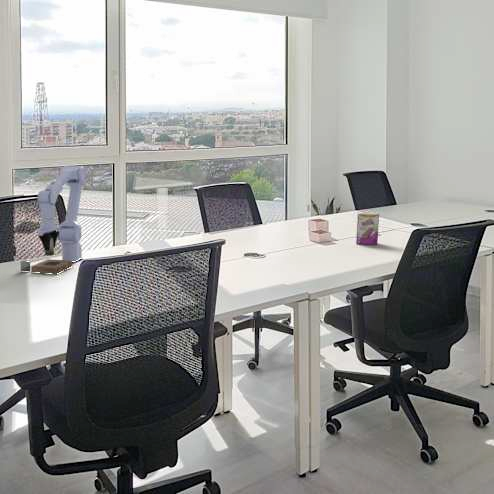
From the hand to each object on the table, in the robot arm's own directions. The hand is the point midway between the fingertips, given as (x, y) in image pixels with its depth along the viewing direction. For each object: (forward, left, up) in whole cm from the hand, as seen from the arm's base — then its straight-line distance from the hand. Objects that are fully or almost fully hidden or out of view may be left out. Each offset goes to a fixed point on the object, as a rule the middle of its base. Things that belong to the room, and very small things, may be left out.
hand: (49, 248), depth 298 cm
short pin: (+5, -9, -10) cm, 14 cm away
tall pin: (0, 0, -2) cm, 3 cm away
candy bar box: (-98, +130, -10) cm, 163 cm away
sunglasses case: (-22, +26, -10) cm, 35 cm away
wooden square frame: (0, +1, -9) cm, 9 cm away
